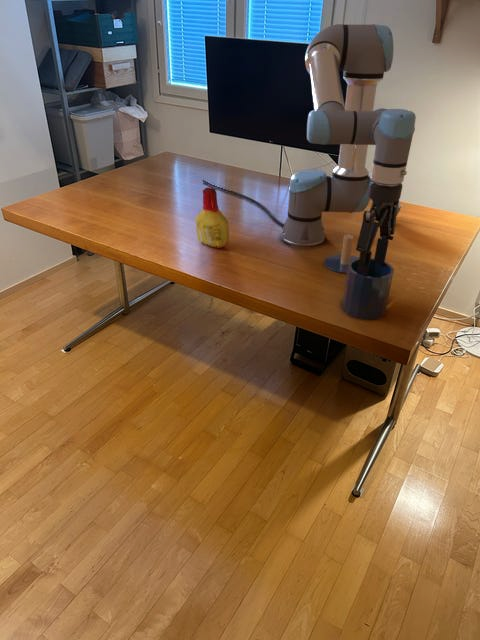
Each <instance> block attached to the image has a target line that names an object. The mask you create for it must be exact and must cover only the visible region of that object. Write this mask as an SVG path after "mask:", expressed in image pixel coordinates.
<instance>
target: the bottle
mask: <svg viewBox="0 0 480 640" xmlns="http://www.w3.org/2000/svg"><path fill="white" fill-rule="evenodd" d="M195 227H196V235H197V240H198V242H199V243H201V244H203V245H206V246H209V247H211V248H218V249H221V248H224V246H226V245H227V244H228V243H229V237H230V236H229V234H230V228H229V227H230V225H229V221H228V219H227V217H226V216H225V215H224V213H223V212H222V211H221V210H220V209H219V204H218V194H217V190H216V188H215V187H205V188H204V189H203V190H202V210H201V211H200V212H199V213H198V214H197V215H196V218H195ZM200 241H201V242H200ZM202 242H203V243H202ZM205 243H206V244H205ZM207 244H208V245H207ZM211 245H212V246H211ZM216 246H217V247H216Z"/></svg>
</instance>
